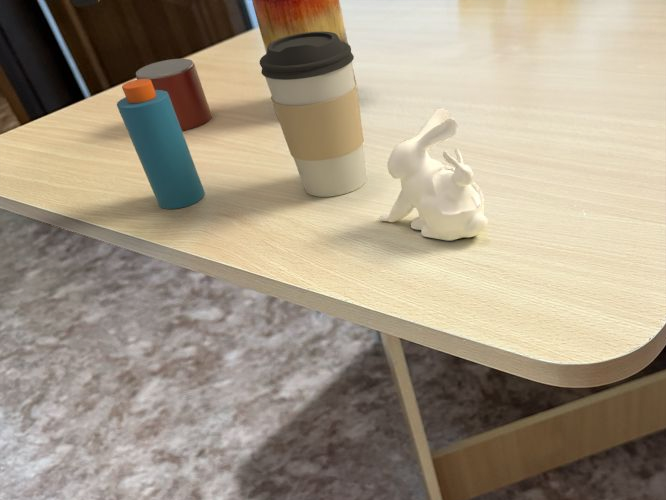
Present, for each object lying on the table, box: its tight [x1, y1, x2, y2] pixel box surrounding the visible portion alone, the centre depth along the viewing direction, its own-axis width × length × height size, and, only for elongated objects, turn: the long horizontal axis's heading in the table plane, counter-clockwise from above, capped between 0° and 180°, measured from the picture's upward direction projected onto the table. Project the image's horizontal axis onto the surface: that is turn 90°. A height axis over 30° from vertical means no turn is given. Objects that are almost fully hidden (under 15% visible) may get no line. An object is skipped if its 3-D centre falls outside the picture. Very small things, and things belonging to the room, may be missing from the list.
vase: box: [251, 0, 359, 93], centre depth 90 cm, size 11×11×20 cm
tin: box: [135, 58, 213, 132], centre depth 94 cm, size 8×8×7 cm
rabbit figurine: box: [377, 107, 489, 241], centre depth 63 cm, size 12×8×10 cm, turn 47°
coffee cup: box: [259, 32, 368, 198], centre depth 70 cm, size 9×9×15 cm
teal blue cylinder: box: [116, 79, 206, 210], centre depth 72 cm, size 5×5×12 cm
